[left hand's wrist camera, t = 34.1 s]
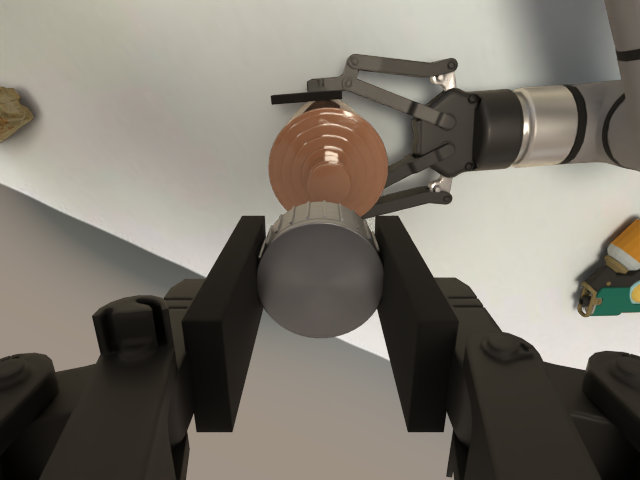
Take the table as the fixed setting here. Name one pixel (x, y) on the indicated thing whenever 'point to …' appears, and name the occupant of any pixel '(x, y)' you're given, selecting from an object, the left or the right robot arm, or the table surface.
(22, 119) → the sculpture
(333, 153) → the bottle
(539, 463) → the left robot arm
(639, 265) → the spray gun
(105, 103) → the table surface
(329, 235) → the cap
